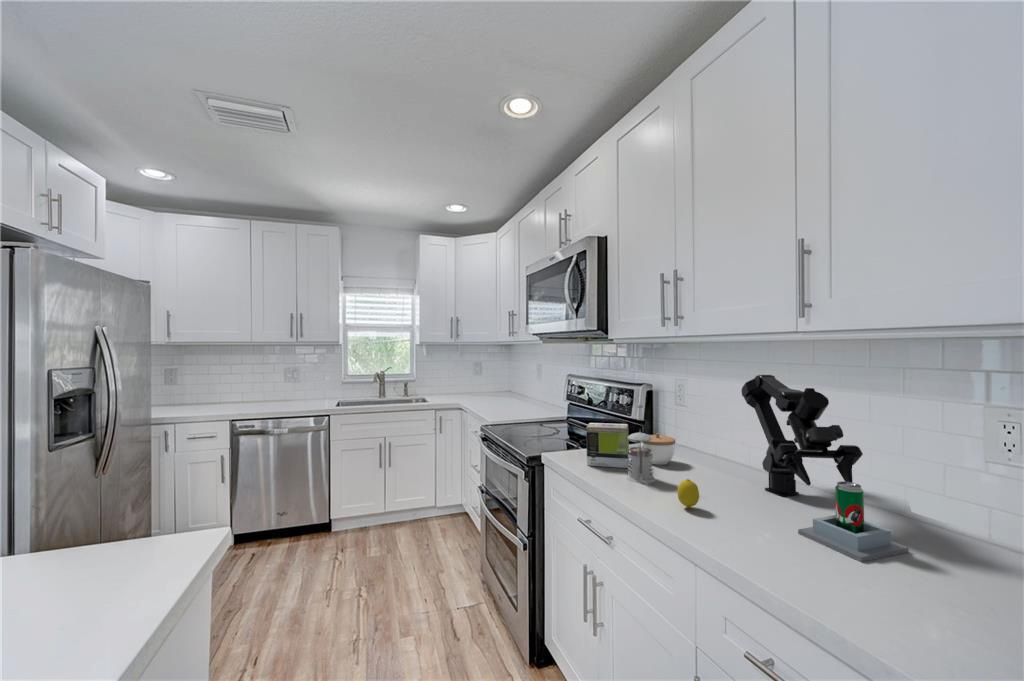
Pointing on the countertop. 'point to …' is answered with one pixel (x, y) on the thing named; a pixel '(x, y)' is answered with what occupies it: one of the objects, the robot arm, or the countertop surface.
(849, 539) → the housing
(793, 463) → the robot arm
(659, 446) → the lidded bowl
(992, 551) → the countertop surface
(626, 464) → the tea box
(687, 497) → the lemon
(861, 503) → the soda can
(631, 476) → the french press
